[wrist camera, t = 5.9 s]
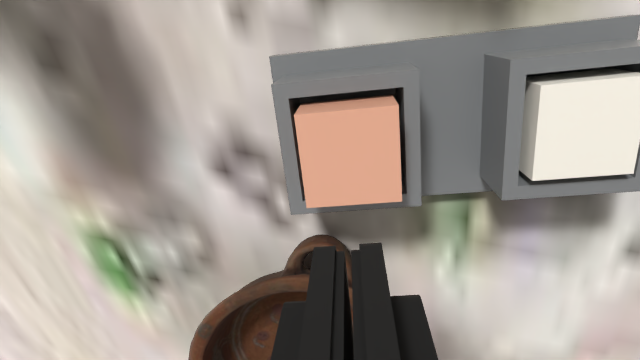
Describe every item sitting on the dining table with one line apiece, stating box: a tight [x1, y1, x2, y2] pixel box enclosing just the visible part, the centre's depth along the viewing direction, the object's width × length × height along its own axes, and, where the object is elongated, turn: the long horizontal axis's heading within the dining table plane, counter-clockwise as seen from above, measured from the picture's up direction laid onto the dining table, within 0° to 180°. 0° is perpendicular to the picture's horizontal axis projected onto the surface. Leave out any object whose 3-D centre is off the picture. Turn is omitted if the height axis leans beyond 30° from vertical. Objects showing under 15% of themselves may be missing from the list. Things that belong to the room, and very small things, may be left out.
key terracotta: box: [294, 95, 402, 208], centre depth 21 cm, size 5×5×3 cm
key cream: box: [519, 68, 640, 181], centre depth 21 cm, size 5×5×3 cm
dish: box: [189, 235, 353, 360], centre depth 31 cm, size 17×22×5 cm
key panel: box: [269, 15, 640, 215], centre depth 23 cm, size 21×10×5 cm, turn 96°
